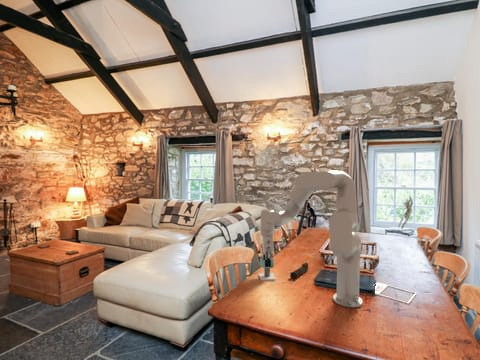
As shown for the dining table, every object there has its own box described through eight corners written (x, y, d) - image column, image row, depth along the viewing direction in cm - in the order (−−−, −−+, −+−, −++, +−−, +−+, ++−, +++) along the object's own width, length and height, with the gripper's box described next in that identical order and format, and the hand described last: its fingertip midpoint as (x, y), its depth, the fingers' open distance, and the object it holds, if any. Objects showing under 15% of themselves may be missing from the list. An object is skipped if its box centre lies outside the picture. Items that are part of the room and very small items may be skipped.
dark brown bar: (296, 280, 153) (296, 272, 153) (289, 278, 156) (290, 270, 155) (312, 270, 168) (312, 263, 167) (306, 269, 170) (306, 261, 170)
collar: (274, 268, 153) (274, 260, 152) (261, 268, 152) (261, 260, 152) (272, 263, 160) (272, 256, 159) (259, 263, 159) (259, 256, 159)
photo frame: (377, 281, 149) (416, 292, 137) (377, 283, 150) (416, 294, 137) (367, 290, 139) (408, 302, 126) (367, 292, 139) (408, 305, 127)
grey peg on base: (275, 280, 152) (275, 265, 152) (260, 280, 152) (260, 265, 152) (273, 274, 160) (273, 260, 160) (259, 275, 160) (259, 260, 160)
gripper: (276, 236, 146) (276, 270, 147) (272, 228, 164) (271, 259, 165) (262, 236, 146) (261, 270, 147) (258, 228, 163) (258, 259, 164)
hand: (266, 264), depth 156 cm, fingers closed on collar, 7 cm apart
